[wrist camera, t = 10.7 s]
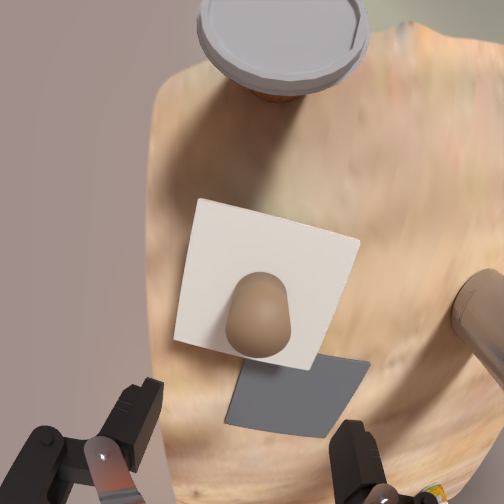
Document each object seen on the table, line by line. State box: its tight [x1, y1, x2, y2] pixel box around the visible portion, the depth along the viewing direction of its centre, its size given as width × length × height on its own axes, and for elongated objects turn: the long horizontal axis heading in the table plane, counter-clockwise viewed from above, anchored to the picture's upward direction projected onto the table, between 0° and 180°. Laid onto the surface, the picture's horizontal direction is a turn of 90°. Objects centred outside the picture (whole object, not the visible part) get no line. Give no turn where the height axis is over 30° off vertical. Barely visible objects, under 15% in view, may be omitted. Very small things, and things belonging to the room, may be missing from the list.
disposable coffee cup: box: [197, 0, 370, 102], centre depth 17 cm, size 10×10×12 cm
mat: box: [225, 354, 371, 438], centre depth 33 cm, size 14×14×1 cm
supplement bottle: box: [421, 483, 448, 504], centre depth 39 cm, size 5×5×10 cm
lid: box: [174, 198, 361, 370], centre depth 21 cm, size 12×12×6 cm
